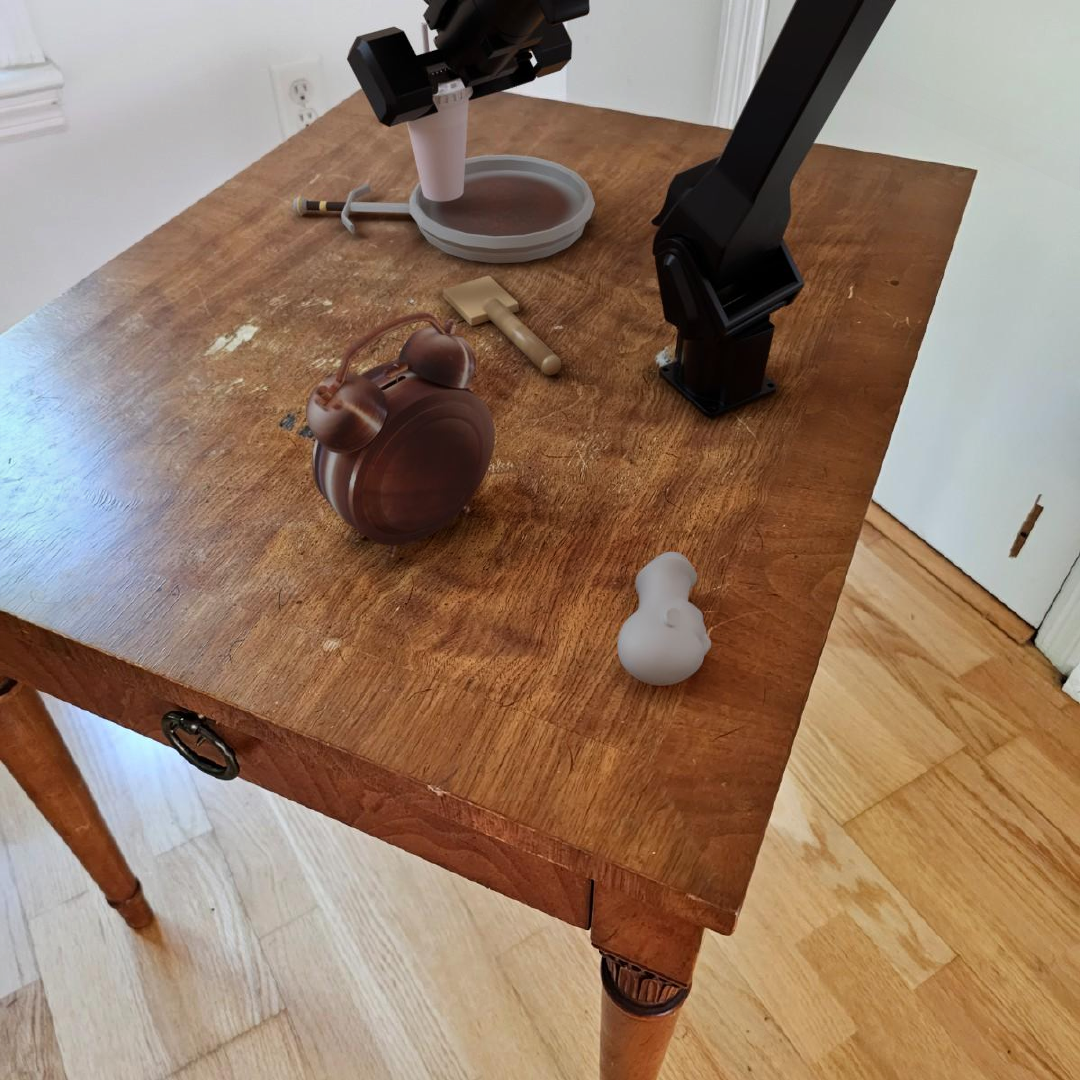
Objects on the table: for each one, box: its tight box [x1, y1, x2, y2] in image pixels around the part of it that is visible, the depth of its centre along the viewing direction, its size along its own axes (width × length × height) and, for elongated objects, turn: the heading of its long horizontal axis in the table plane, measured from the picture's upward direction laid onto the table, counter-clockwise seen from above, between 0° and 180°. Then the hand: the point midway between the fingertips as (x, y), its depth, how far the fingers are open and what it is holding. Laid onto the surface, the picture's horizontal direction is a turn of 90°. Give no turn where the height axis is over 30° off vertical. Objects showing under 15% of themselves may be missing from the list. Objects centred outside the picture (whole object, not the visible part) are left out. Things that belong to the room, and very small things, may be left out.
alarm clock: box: [305, 312, 496, 559], centre depth 56 cm, size 11×5×15 cm, turn 133°
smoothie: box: [406, 21, 473, 201], centre depth 82 cm, size 6×6×14 cm
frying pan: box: [292, 154, 596, 264], centre depth 88 cm, size 17×3×28 cm
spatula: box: [442, 275, 562, 376], centre depth 76 cm, size 14×4×2 cm, turn 31°
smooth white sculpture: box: [616, 551, 712, 687], centre depth 53 cm, size 4×8×5 cm
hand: (427, 107), depth 83 cm, fingers closed on smoothie, 6 cm apart
